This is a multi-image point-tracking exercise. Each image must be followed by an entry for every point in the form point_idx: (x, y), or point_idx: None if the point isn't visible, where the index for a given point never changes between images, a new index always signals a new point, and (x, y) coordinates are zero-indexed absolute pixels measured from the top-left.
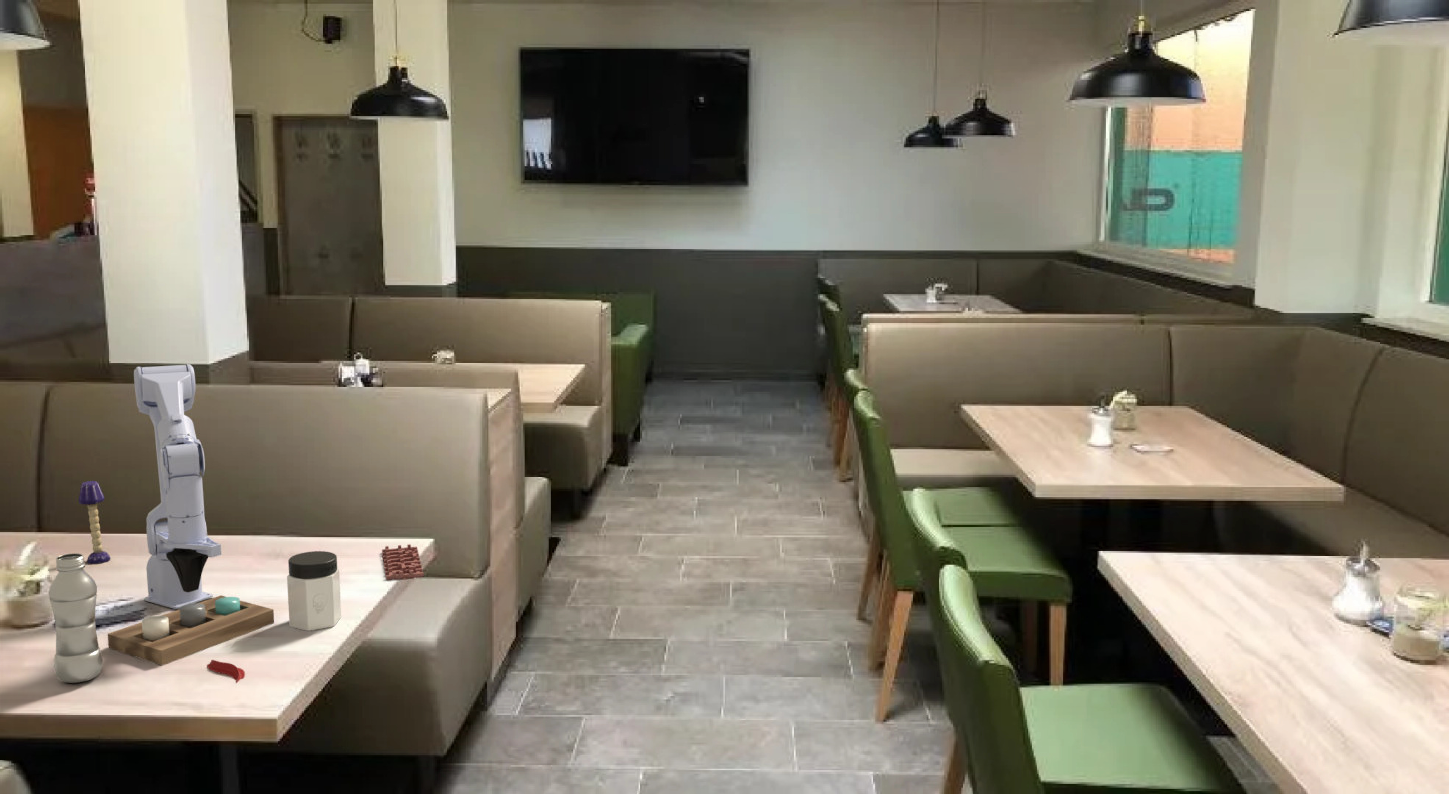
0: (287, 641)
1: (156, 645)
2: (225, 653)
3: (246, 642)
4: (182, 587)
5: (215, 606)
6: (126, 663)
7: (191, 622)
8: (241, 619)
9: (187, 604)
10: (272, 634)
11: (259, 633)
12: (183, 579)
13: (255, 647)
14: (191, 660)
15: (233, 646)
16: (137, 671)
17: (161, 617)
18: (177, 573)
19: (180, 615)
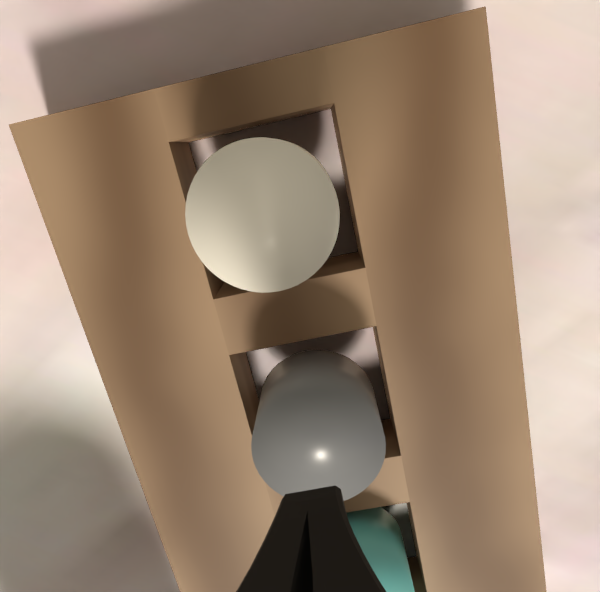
0: (5, 563)
1: (101, 138)
2: (25, 371)
3: (91, 471)
4: (328, 500)
5: (371, 542)
6: (190, 10)
7: (265, 386)
8: (181, 547)
9: (385, 452)
10: (109, 562)
11: (151, 539)
12: (285, 557)
13: (17, 470)
14: (34, 245)
15: (81, 423)
16: (51, 7)
17: (280, 265)
18: (361, 580)
19: (322, 374)
